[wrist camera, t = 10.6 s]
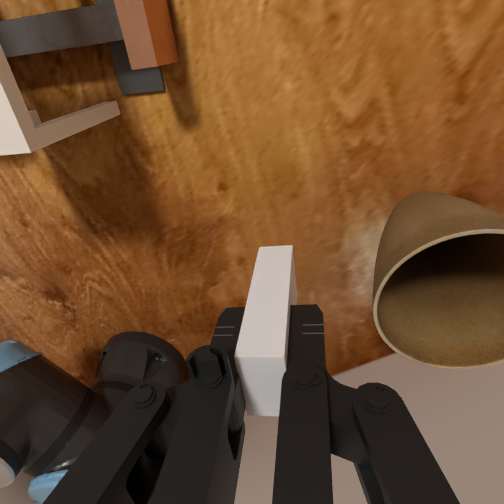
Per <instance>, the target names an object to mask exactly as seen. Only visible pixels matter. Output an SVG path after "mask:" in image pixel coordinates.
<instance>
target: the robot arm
mask: <svg viewBox="0 0 504 504" xmlns="http://www.w3.org/2000/svg"><path fill="white" fill-rule="evenodd" d="M186 364H187V367H188V370H189V373H190V376H191V380H190V381H188V382H186V383H183V382H184V379H185V376H186V365H185V362H184V360H183V358H182V356H181V355H180V354H179V352H178V351H177V350H176V349H175V348H174V347H173V346H171V345H170V344H169V343H167V342H166V341H164V340H162V339H160V338H158V337H156V336H153V335H150V334H147V333H142V332H124V333H120V334H117V335H115V336H113V337H112V338H111V339H110V340H109V341H108V342H107V344H106V345H105V347H104V348H103V350H102V352H101V354H100V357H99V361H98V365H97V369H96V374H95V378H94V382H93V385H92V387H91V389H90V388H88V387H87V386H85V385H84V384H83V383H81V382H80V381H78V380H77V379H75V378H74V377H73V376H71V375H70V374H68V373H67V372H65V371H64V370H63V369H61V368H60V367H58V366H57V365H55V364H54V363H53V362H51V361H50V360H48V359H47V358H45V357H44V356H43V354H42V353H41V352H36V351H34V350H33V349H31V348H29V347H28V346H26V345H25V344H23V343H21V342H19V341H16V340H8V341H4V342H2V343H0V488H2V487H5V486H7V485H10V484H11V483H12V482H13V480H14V479H15V477H16V476H17V474H18V473H19V472H20V470H21V471H23V472H24V473H26V474H28V475H29V476H31V477H32V478H33V479H32V480H31V482H30V484H29V489H28V496H29V498H30V499H32V500H34V502H35V503H36V504H234V500H235V493H236V487H237V481H238V473H239V468H240V461H241V455H242V448H243V442H244V435H245V424H244V420H243V417H244V411H245V407H246V411H247V415H257V416H279V423H278V435H277V448H276V461H275V474H274V486H273V499H272V500H273V501H272V504H333V491H332V471H331V454H334V455H337V456H339V457H342V458H344V459H346V460H349V461H352V462H353V463H354V466H355V468H356V471H357V474H358V477H359V480H360V483H361V485H362V488H363V491H364V494H365V497H366V500H367V503H368V504H460V503H459V501H458V499H457V498H456V496H455V494H454V492H453V490H452V488H451V487H450V485H449V483H448V481H447V479H446V478H445V476H444V474H443V472H442V471H441V469H440V467H439V465H438V463H437V461H436V460H435V458H434V456H433V454H432V452H431V451H430V449H429V447H428V445H427V444H426V442H425V440H424V438H423V436H422V435H421V433H420V431H419V429H418V428H417V426H416V424H415V422H414V420H413V418H412V417H411V415H410V413H409V411H408V409H407V407H406V406H405V404H404V402H403V400H402V398H401V397H400V396H399V395H398V393H397V392H396V391H395V390H393V389H392V388H390V387H389V386H387V385H384V384H380V383H366V384H364V385H361V386H359V387H358V388H357V389H355V388H351V387H348V386H345V385H343V384H340V383H338V382H337V381H336V380H334V379H333V378H332V377H331V376H330V375H329V373H328V371H327V368H326V361H325V343H324V325H323V313H322V311H321V310H320V308H319V307H318V306H317V304H314V305H297V288H296V277H295V267H294V257H293V247H292V245H288V246H271V247H259V251H258V255H257V259H256V264H255V268H254V273H253V277H252V281H251V286H250V290H249V294H248V299H247V303H246V307H232V308H226V309H225V310H224V312H223V313H222V314H221V315H220V316H219V319H218V322H217V325H216V328H215V331H214V336H213V337H212V341H211V344H210V345H205V346H202V347H199V348H197V349H195V350H194V351H193V352H192V353H190V354H189V356H188V357H187V359H186Z"/></svg>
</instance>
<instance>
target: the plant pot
mask: <svg viewBox="0 0 504 504" xmlns="http://www.w3.org/2000/svg"><path fill="white" fill-rule="evenodd" d="M373 317H374V322H375V325H376V328H377V330H378V332H379V334H380V336H381V338H382V339H383V340H384V341H385V343H386V344H387V345H388V346H389V347H390V348H392V349H393V350H394V351H395V352H397V353H398V354H400V355H402V356H403V357H405V358H407V359H410V360H412V361H414V362H417V363H420V364H423V365H427V366H431V367H437V368H445V369H471V368H480V367H486V366H491V365H495V364H498V363H502V362H504V216H503V215H501V214H499V213H497V212H495V211H493V210H491V209H488V208H486V207H484V206H481V205H479V204H476V203H474V202H471V201H468V200H465V199H462V198H459V197H455V196H451V195H447V194H441V193H434V192H422V193H417V194H414V195H411V196H409V197H407V198H405V199H404V200H402V201H401V202H400V203H399V204H398V205H397V206H396V207H395V208H394V210H393V211H392V213H391V215H390V217H389V219H388V221H387V223H386V225H385V228H384V230H383V233H382V237H381V240H380V244H379V248H378V253H377V258H376V264H375V272H374V289H373Z"/></svg>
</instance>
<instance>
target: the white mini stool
mask: <svg viewBox="0 0 504 504" xmlns="http://www.w3.org/2000/svg"><path fill="white" fill-rule="evenodd" d="M109 2H114V0H96V4H103V3H109ZM108 46H109V50H110V53H111V57H112V61H113V64H114V68H115V71H116V75H117V78H118V82H119V85H120V89H121V92H122V95H127V94H136V93H144V92H153V91H161V90H165V86H164V82H163V77H162V73H161V69H160V66H158V67H150V68H142V69H135V70H132V69H131V65H130V61H129V57H128V53H127V50H126V46H125V42H124V41H118V42H111V43H108ZM120 114H121V113H120V110H119V106H118V103H117V100H116V101H107V102H103V103H100V104H97V105H94V106H91V107H88V108H85V109H82V110H79V111H76V112H73V113H70V114H67V115H64V116H61V117H58V118H55V119H52V120H49V121H46V122H43V123H41V120H40V118H39V115H38V113H37V110H30V111H28V109H27V107H26V105H25V102H24V100H23V97H22V95H21V93H20V90H19V88H18V85H17V83H16V81H15V78H14V76H13V73H12V71H11V69H10V66H9V64H8V61H7V59H6V57H5V54H4V52H3V49H2V47H1V45H0V156H1V155H12V154H23V153H32V152H34V151H36V150H39V149H41V148H43V147H46V146H48V145H50V144H53V143H55V142H57V141H60V140H62V139H64V138H67V137H69V136H71V135H74V134H76V133H78V132H81V131H83V130H85V129H88V128H90V127H92V126H95V125H97V124H99V123H102V122H104V121H106V120H109V119H111V118H113V117H116V116H118V115H120Z"/></svg>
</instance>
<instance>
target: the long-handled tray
mask: <svg viewBox="0 0 504 504" xmlns="http://www.w3.org/2000/svg"><path fill="white" fill-rule="evenodd" d="M118 41H124V42H125V46H126V50H127V53H128V57H129V61H130V65H131V69H132V70H135V69H142V68H150V67H158V66H162V65H167V64H171V63H175V62H179V59H178V54H177V49H176V44H175V39H174V34H173V29H172V24H171V19H170V14H169V9H168V3H167V0H114V2H109V3H103V4H97V5H91V6H85V7H80V8H74V9H68V10H62V11H56V12H51V13H45V14H39V15H33V16H28V17H22V18H16V19H10V20H4V21H0V45H1V47H2V49H3V52H4V54H5V57H6V58H11V57H18V56H24V55H31V54H38V53H44V52H51V51H58V50H64V49H71V48H78V47H84V46H91V45H98V44H104V43H111V42H118Z"/></svg>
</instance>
